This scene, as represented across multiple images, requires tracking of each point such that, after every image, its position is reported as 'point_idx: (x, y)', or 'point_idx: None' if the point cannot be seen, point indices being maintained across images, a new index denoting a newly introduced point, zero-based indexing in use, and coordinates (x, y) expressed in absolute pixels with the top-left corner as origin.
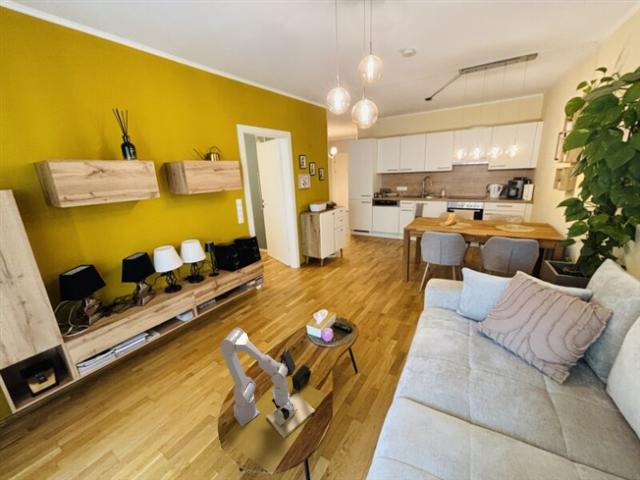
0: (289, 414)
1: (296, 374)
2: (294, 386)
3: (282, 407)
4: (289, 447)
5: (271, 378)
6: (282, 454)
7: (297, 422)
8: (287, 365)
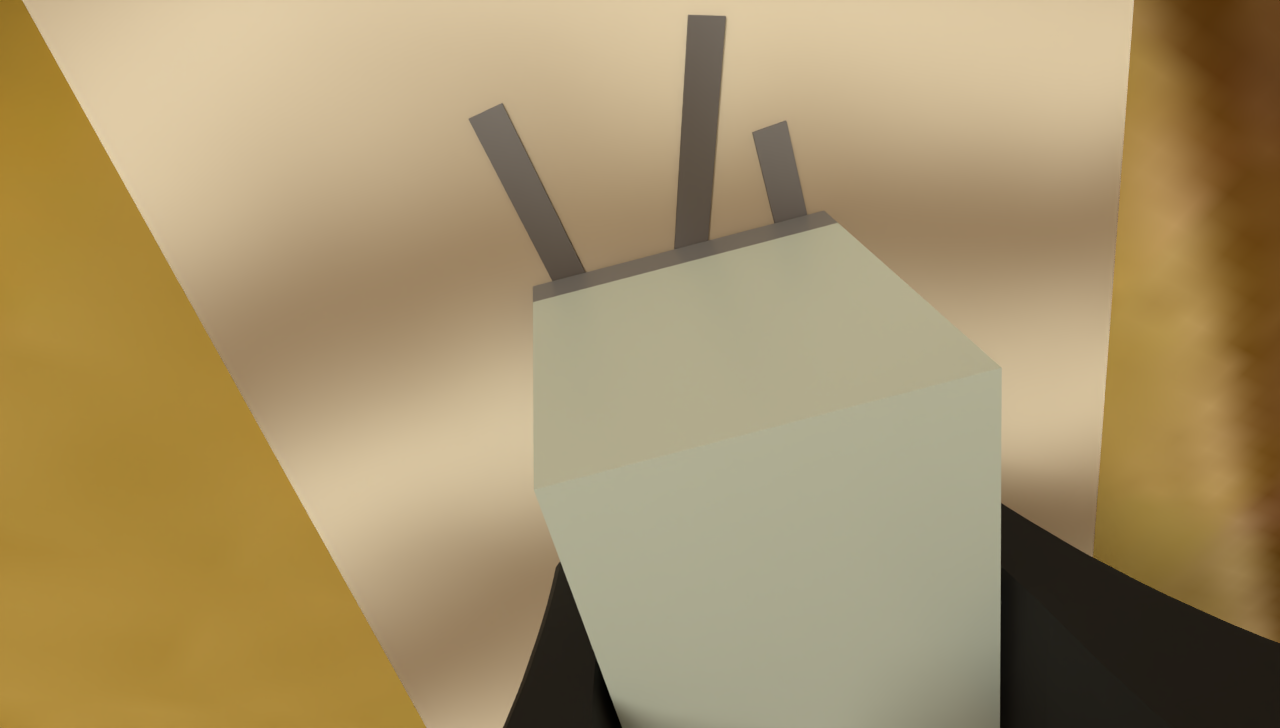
0: (1015, 515)
1: None
2: None
3: (711, 714)
4: (1245, 506)
5: None
6: (1230, 618)
7: (1058, 217)
8: None
